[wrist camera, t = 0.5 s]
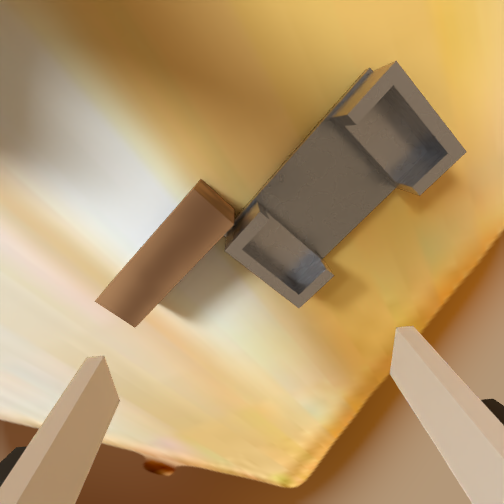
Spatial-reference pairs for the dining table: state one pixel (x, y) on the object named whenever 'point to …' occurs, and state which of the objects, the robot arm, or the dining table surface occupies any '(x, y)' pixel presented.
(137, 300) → the brown wooden block
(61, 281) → the dining table surface
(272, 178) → the bracket
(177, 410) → the dining table surface
